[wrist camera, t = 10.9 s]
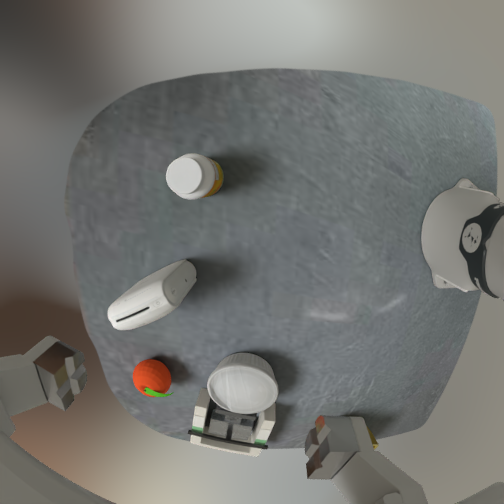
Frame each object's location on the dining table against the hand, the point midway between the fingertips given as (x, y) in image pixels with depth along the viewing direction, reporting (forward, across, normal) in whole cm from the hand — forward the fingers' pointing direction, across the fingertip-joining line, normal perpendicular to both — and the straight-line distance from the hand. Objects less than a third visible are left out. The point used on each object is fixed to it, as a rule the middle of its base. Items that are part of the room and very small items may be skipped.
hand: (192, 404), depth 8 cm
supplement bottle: (+31, +8, -6) cm, 33 cm away
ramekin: (+32, -4, +24) cm, 40 cm away
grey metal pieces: (+31, -4, +35) cm, 47 cm away
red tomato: (+31, +11, +28) cm, 43 cm away
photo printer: (+31, +11, +10) cm, 35 cm away
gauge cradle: (+31, -4, +36) cm, 48 cm away
